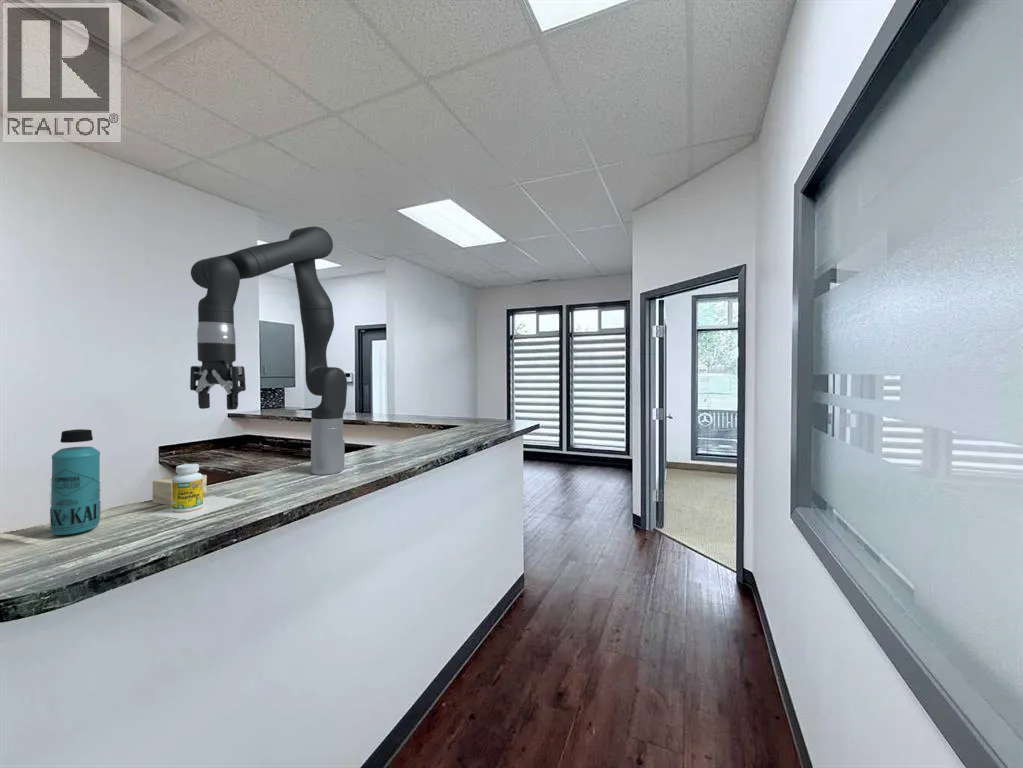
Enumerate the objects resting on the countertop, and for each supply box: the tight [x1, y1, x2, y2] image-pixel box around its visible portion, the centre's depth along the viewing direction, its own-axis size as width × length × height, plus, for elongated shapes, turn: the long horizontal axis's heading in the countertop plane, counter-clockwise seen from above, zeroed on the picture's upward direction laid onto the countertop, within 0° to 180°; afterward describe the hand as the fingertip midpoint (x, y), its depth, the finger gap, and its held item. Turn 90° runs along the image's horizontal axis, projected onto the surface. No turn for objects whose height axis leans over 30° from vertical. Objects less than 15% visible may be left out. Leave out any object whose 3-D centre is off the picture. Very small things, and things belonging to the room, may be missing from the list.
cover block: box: [152, 474, 208, 506], centre depth 98 cm, size 8×6×6 cm
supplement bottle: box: [171, 463, 204, 512], centre depth 91 cm, size 5×5×10 cm
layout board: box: [148, 495, 248, 521], centre depth 92 cm, size 14×11×1 cm
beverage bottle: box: [49, 428, 102, 536], centre depth 77 cm, size 6×7×20 cm
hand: (218, 408), depth 100 cm, fingers open, 8 cm apart
